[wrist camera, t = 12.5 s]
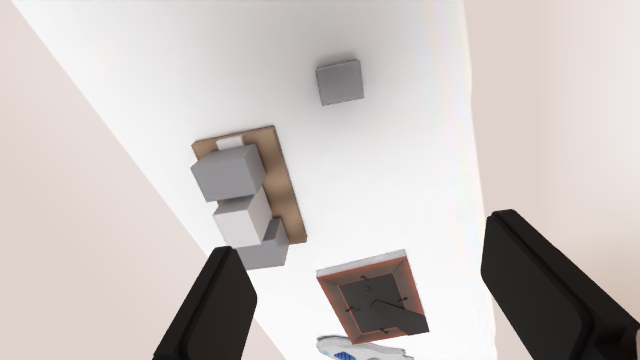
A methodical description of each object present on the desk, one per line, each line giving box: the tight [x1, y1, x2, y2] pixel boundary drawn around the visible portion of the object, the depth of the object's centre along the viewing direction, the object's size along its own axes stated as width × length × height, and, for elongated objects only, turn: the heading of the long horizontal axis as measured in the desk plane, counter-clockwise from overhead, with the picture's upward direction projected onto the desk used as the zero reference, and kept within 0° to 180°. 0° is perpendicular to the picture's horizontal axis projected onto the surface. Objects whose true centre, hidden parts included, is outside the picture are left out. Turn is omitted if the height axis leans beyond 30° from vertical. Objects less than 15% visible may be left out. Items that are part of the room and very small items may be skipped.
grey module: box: [212, 186, 272, 248], centre depth 36 cm, size 6×5×7 cm
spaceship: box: [317, 337, 414, 360], centre depth 58 cm, size 23×7×4 cm, turn 75°
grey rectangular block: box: [315, 60, 364, 106], centre depth 32 cm, size 4×5×4 cm
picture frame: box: [316, 249, 429, 345], centre depth 51 cm, size 16×2×22 cm
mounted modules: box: [190, 144, 289, 270], centre depth 37 cm, size 18×7×5 cm, turn 12°
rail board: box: [191, 126, 307, 245], centre depth 41 cm, size 20×12×2 cm, turn 12°
